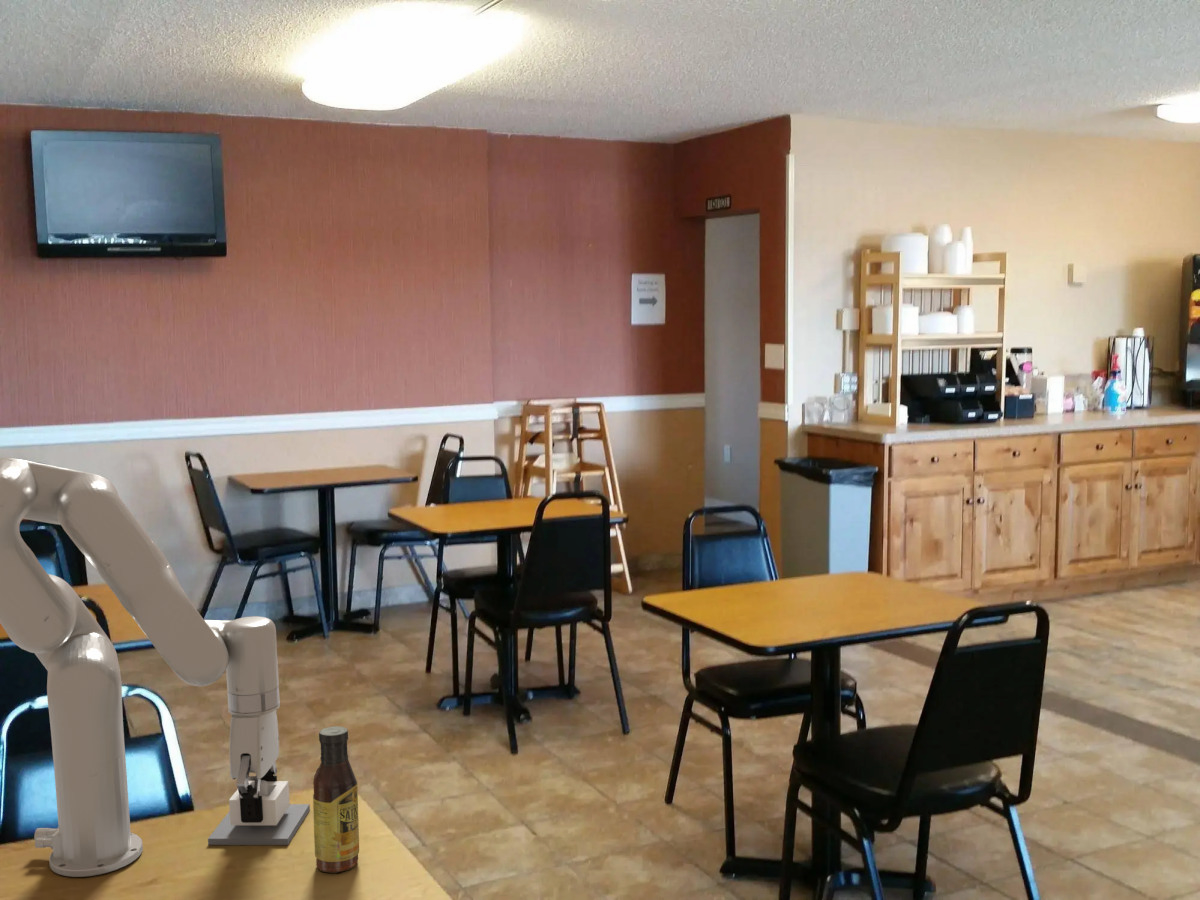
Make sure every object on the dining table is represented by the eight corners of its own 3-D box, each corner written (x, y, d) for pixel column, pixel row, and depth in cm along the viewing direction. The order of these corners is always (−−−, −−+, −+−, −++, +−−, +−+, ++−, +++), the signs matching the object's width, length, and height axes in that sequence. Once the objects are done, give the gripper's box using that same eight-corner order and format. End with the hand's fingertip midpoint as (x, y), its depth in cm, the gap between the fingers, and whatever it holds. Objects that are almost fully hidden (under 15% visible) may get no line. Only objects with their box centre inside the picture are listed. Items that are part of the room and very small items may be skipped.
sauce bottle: (349, 877, 166) (343, 741, 164) (307, 873, 167) (301, 738, 165) (367, 855, 173) (362, 724, 170) (327, 852, 174) (321, 722, 171)
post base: (208, 845, 177) (205, 800, 176) (235, 810, 188) (232, 768, 188) (288, 845, 176) (285, 800, 175) (309, 810, 188) (307, 768, 187)
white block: (230, 825, 179) (228, 800, 178) (245, 805, 186) (244, 781, 185) (276, 825, 179) (275, 800, 178) (289, 805, 186) (288, 781, 185)
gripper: (247, 680, 188) (253, 787, 191) (209, 719, 171) (216, 836, 174) (294, 680, 188) (299, 787, 191) (260, 719, 171) (266, 836, 173)
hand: (259, 810), depth 182 cm, fingers closed on white block, 6 cm apart
